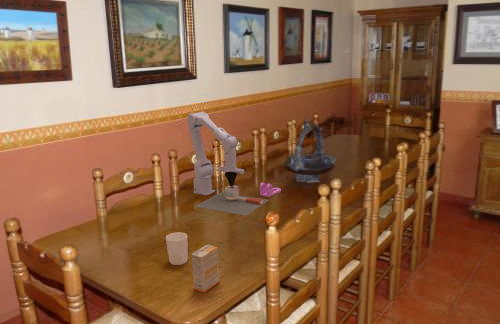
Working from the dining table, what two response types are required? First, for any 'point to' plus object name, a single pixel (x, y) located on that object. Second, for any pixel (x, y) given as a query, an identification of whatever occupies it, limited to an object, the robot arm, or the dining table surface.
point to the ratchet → (245, 200)
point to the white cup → (177, 248)
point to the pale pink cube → (231, 191)
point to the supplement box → (205, 268)
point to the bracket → (268, 190)
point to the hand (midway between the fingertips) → (231, 185)
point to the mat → (229, 205)
